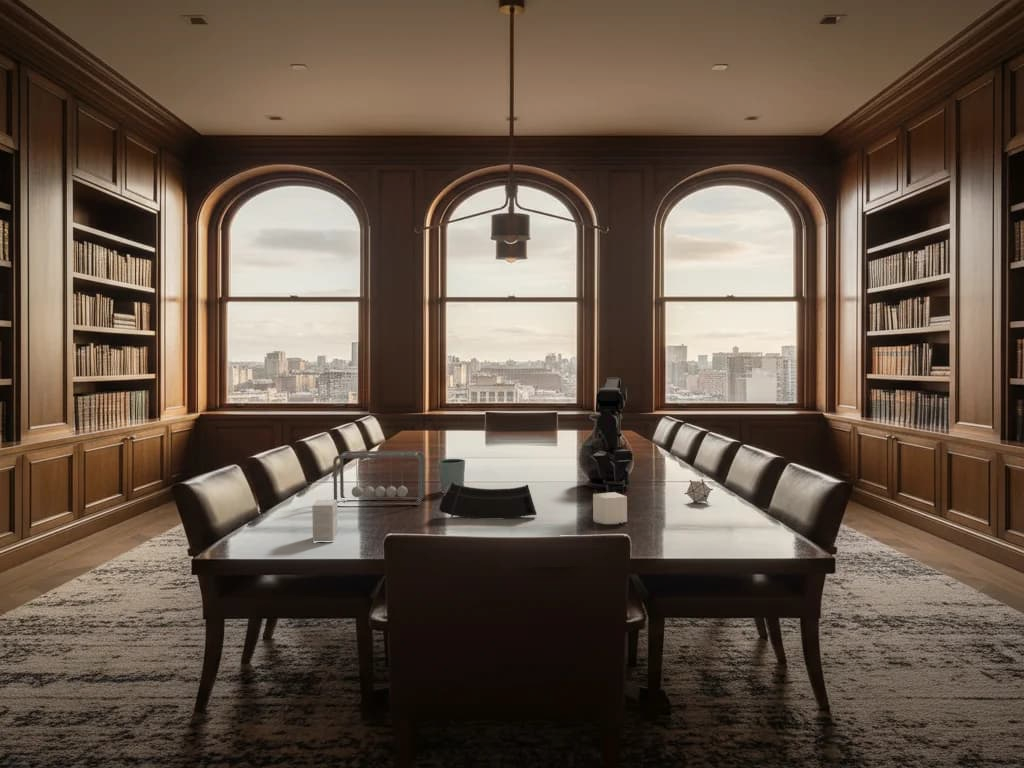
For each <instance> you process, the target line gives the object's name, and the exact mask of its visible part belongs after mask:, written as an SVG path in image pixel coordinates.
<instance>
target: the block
mask: <svg viewBox="0 0 1024 768" xmlns="http://www.w3.org/2000/svg"><path fill="white" fill-rule="evenodd" d="M592 507H593V509H592V512H593V514H592V517H593V518H592V520H593V519H596V520H598V521H601V522H603V523H605V524H604V525H607V524H606V523H615V522H624V523H627V522H628V496H626V495H625V494H624V495H621V494H618V493H616V492H611V493H606V492H601V493H600V492H599V493H593V494H592Z"/></svg>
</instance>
